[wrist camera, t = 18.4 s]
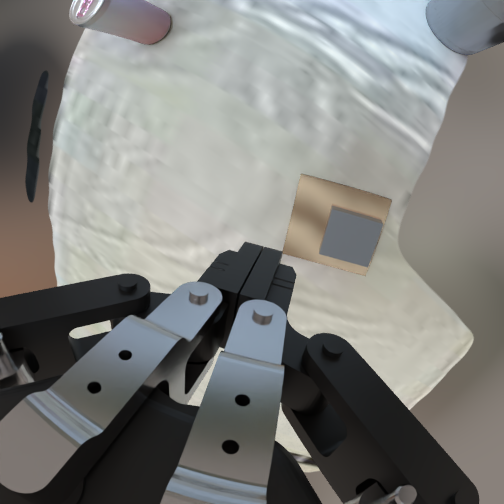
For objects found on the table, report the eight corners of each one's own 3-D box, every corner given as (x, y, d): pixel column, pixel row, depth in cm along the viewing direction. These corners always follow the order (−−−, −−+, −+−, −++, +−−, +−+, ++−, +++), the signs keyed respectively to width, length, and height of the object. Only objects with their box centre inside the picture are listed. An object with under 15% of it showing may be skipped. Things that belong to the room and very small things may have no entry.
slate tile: (332, 209, 34) (383, 224, 33) (331, 204, 36) (380, 218, 35) (318, 254, 36) (367, 267, 35) (319, 246, 38) (365, 259, 37)
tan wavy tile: (301, 173, 36) (300, 174, 35) (390, 199, 34) (391, 200, 33) (282, 250, 41) (282, 253, 40) (364, 273, 39) (365, 275, 38)
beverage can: (132, 39, 32) (61, 21, 19) (151, 7, 30) (85, -22, 16) (159, 50, 33) (87, 29, 19) (180, 16, 30) (115, -18, 17)
